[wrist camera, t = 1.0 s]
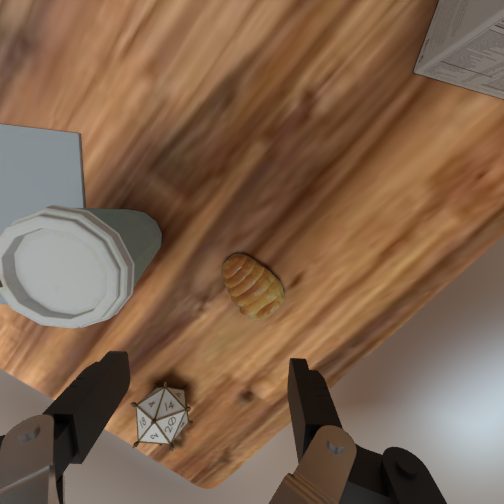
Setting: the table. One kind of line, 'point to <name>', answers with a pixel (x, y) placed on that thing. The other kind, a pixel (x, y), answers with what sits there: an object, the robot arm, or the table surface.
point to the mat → (38, 172)
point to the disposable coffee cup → (75, 262)
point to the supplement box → (466, 45)
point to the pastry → (252, 286)
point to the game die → (162, 415)
